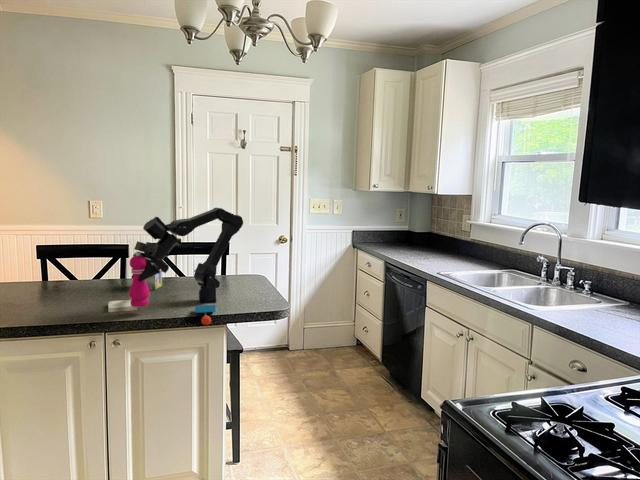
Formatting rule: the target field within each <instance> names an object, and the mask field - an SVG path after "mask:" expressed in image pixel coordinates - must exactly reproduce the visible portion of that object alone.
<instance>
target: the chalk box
mask: <svg viewBox="0 0 640 480" xmlns="http://www.w3.org/2000/svg"><path fill="white" fill-rule="evenodd" d="M162 274H163V272H162V271H161V269H160V273H158V274H155V275H153V276H151V277H149V278H147V279H145V282H146V284H147V286H148V287H149V291H156V290H158V289H159V288H161V287H163V275H162Z"/></svg>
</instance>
